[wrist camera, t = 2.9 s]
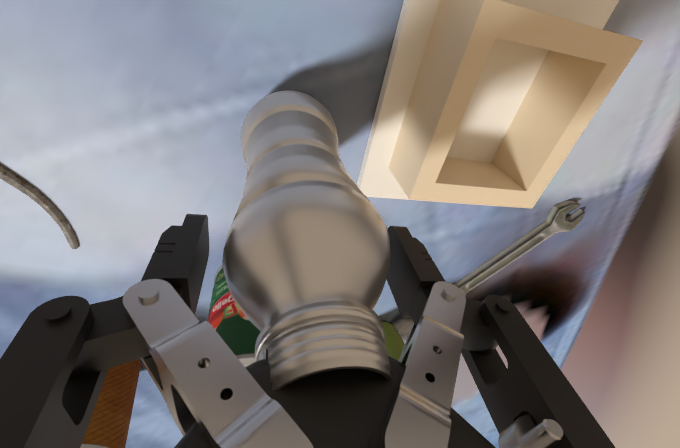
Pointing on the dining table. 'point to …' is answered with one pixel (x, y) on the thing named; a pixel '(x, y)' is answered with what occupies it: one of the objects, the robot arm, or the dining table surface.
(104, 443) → the disposable coffee cup
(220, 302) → the canned tomato
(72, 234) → the pliers
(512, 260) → the wrench
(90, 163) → the dining table surface
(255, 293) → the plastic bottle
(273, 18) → the dining table surface
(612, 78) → the housing
